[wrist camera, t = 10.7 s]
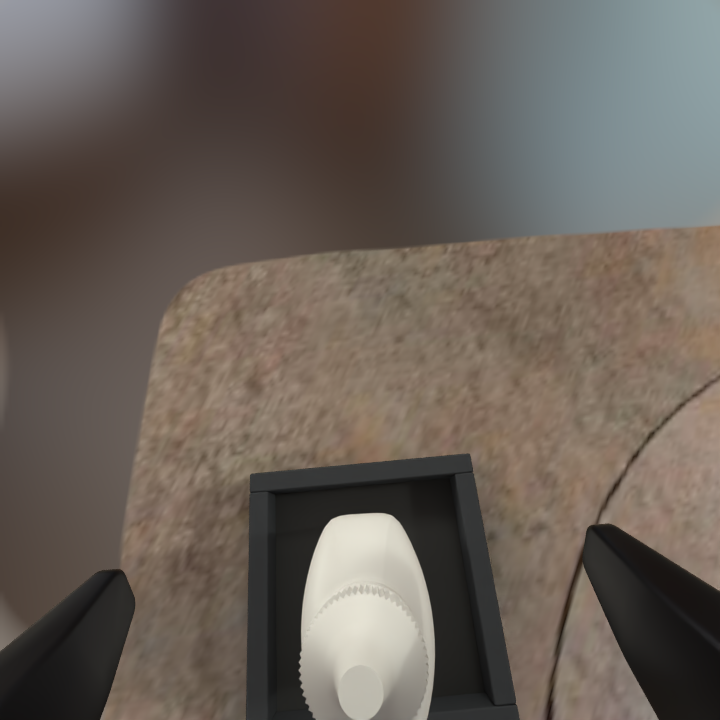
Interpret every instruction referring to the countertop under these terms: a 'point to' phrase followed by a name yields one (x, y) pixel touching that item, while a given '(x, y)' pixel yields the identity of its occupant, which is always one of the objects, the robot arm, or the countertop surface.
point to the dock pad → (435, 555)
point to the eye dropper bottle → (366, 624)
